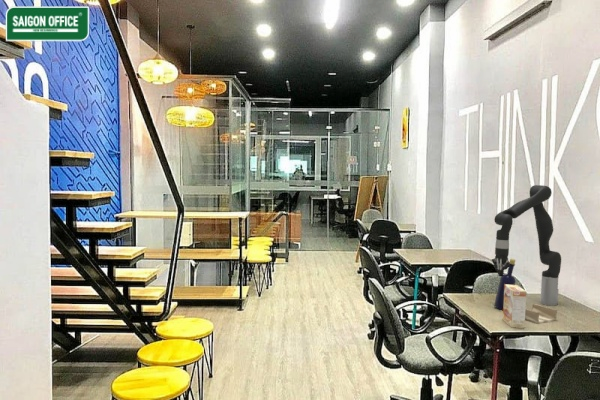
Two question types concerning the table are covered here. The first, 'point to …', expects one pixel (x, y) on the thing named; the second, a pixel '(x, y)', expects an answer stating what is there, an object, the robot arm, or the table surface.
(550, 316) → the u rest
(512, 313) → the coffeecake box
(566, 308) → the table surface
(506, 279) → the bottle
